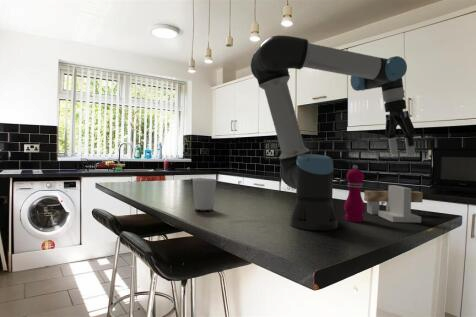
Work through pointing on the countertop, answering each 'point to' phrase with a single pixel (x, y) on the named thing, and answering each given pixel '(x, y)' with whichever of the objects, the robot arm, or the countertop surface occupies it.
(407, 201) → the ridge stand
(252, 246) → the countertop surface
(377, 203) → the rest blocks
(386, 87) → the robot arm
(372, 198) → the oak batten
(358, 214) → the pepper mill
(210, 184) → the cup
